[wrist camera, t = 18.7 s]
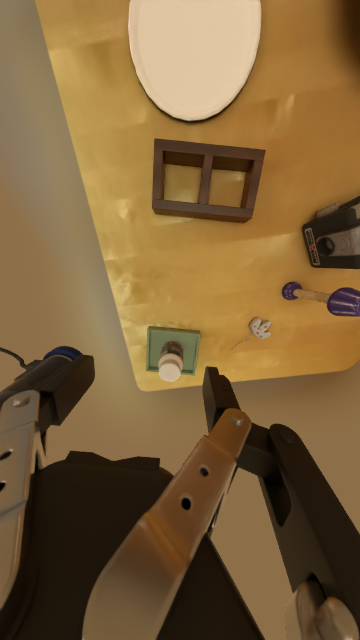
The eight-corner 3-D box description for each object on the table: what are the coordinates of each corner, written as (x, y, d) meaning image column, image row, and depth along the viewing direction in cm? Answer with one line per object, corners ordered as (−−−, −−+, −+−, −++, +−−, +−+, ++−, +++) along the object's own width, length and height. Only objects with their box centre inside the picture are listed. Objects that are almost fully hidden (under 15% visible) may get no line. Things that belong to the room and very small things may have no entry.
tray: (147, 366, 47) (146, 371, 45) (149, 326, 43) (147, 329, 41) (194, 371, 47) (194, 375, 45) (199, 331, 43) (200, 334, 41)
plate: (103, 34, 27) (99, 24, 26) (203, -119, 23) (204, -140, 21) (186, 154, 32) (186, 150, 31) (283, 47, 27) (288, 37, 26)
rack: (244, 223, 35) (252, 218, 31) (155, 214, 35) (152, 208, 31) (255, 163, 32) (265, 149, 28) (157, 153, 32) (154, 138, 28)
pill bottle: (187, 349, 44) (188, 372, 35) (173, 363, 46) (171, 389, 36) (171, 336, 43) (167, 356, 34) (157, 350, 45) (150, 374, 35)
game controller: (274, 324, 42) (280, 328, 40) (246, 358, 46) (249, 363, 43) (256, 313, 41) (261, 316, 39) (229, 348, 45) (231, 353, 42)
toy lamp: (294, 276, 38) (372, 283, 23) (307, 289, 39) (390, 305, 23) (278, 292, 40) (341, 310, 24) (290, 304, 41) (359, 329, 25)
